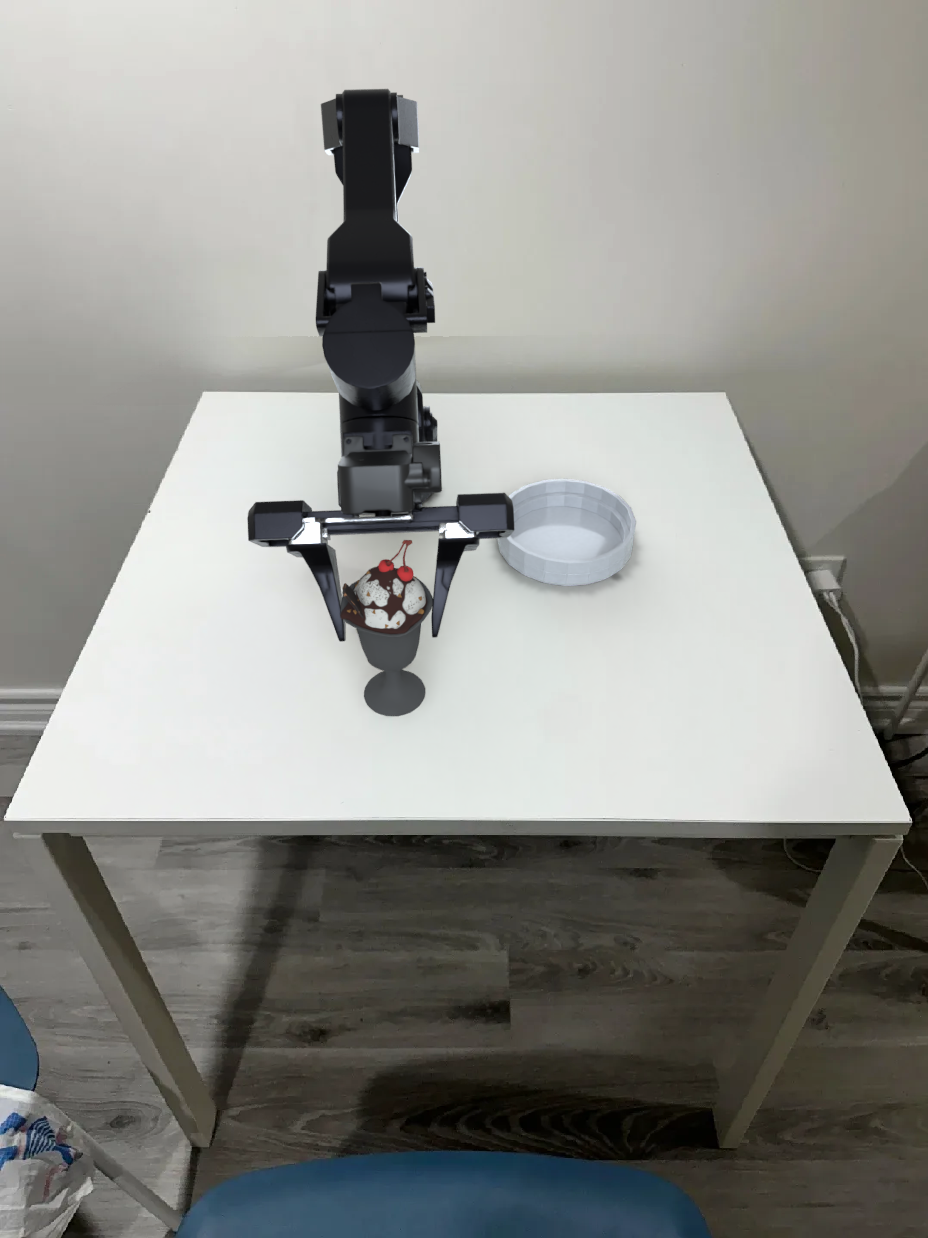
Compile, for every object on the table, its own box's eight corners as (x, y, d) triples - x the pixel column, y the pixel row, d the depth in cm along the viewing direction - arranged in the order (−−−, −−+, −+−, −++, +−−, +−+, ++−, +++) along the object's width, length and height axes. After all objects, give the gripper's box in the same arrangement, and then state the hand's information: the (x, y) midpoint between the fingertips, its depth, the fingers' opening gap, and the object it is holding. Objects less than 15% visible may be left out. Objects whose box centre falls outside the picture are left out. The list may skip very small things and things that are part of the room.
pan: (473, 560, 92) (473, 533, 89) (535, 491, 100) (537, 465, 98) (597, 607, 86) (600, 580, 84) (651, 530, 95) (656, 503, 93)
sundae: (449, 676, 72) (447, 533, 62) (413, 736, 68) (403, 593, 57) (378, 652, 74) (363, 509, 64) (338, 709, 70) (315, 566, 59)
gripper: (224, 403, 56) (235, 648, 56) (516, 393, 57) (527, 635, 57) (259, 439, 68) (267, 644, 68) (503, 430, 68) (511, 633, 68)
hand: (388, 639), depth 65 cm, fingers closed on sundae, 6 cm apart
